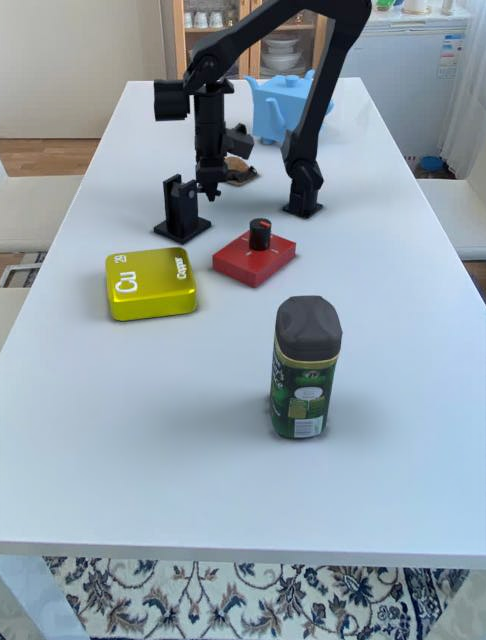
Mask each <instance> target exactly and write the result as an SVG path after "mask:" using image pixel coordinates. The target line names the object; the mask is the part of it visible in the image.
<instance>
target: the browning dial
mask: <svg viewBox="0 0 486 640" xmlns="http://www.w3.org/2000/svg"><path fill="white" fill-rule="evenodd" d="M272 225H273V224H272V221H271V220H270V219H268V218H264V217H256V218H253V219H251V220H250V221H249V229H248V230H249V247H250V248H251V249H253V250H255V251H264V250H267V249H268V248H269V247H270V240H271V233H272Z"/></svg>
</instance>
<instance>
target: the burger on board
mask: <svg viewBox="0 0 486 640" xmlns="http://www.w3.org/2000/svg"><path fill="white" fill-rule="evenodd" d="M224 161H225V162H226V163H227V165H228V182H226V183H227V184H230V185H233V186H236V187H241V186H244V185H245V184H248V183H249V182H251V181H252V182H253V180H255V179H256V178H259V176H260V175H259V173H258V171H257V169H256V168H255V167H254V166H253V165H249V164H248V163H247V162H246V161H245V160H244V159H242V158H241V157H238V156H234V155H231V156H227V157H225V160H224Z"/></svg>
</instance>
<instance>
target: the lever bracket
mask: <svg viewBox="0 0 486 640" xmlns="http://www.w3.org/2000/svg"><path fill="white" fill-rule="evenodd" d="M182 178H183V177H182V174H180V173H176V174H174V175H173V176H170V177H169V178H166V179H165V180H163V181H162V189H163V190H162V191H163V201H164V213H165V220H163V221H162V222H159V223H157V225H155V226H153V228H152V229H153V233H154V234H156V235H159V236H161V237H163V238H166V239H168V240H170V241H173V242H175V243H177V244H180V245H181V246H184V245H185V244H188V242H190V241H191V240H193V239H195V238H196V237H198V236H199V235H201V234H203V233H204V232H206V231H207V230H209V229H210V228H212V221H211V220H208V219H206V218H203V217H201V216H199V201H198V200H199V199H198V198H199V197H198V193H197V187H198V183H196V179H194V178H192V179H190V180H189V181H187V182H184V183H185V184H184V185H182V186H180V187H178V192H179V198H178V197H175V196H173V195H171V189H172V184H173V182H183V179H182Z"/></svg>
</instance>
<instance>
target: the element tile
mask: <svg viewBox="0 0 486 640" xmlns="http://www.w3.org/2000/svg"><path fill="white" fill-rule="evenodd" d="M104 265H105V278H106V279H105V280H106V290H107V300H108V304H109V305H108V306H109V310H110V315H111V317H112V318H113V319H114V320H116V321H121V322H125V321H135V320H142V319H151V318H159V317H166V316H168V317H169V316H176V315H184V314H189V313H192V312H193V311H195V310H196V308H197V305H198V300H197V299H198V298H197V285H196V281H195V277H194V274H193V270H192V265H191V261H190V258H189V254H188V252H187V250H186V249H185V248H184V247H181V246H174V247H172V246H171V247H166V248H165V247H164V248H154V249H146V250H138V251H137V250H136V251H128V252H127V251H126V252H118V253H112V254H109V255H108V256H107V257H106V258H105V260H104Z"/></svg>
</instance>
